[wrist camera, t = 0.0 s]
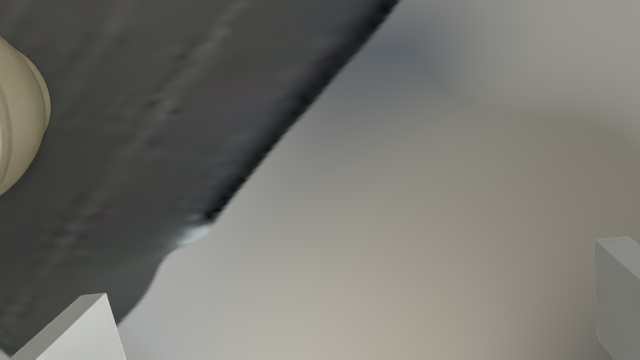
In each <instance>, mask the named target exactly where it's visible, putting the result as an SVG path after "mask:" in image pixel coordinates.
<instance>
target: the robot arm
mask: <svg viewBox="0 0 640 360" xmlns="http://www.w3.org/2000/svg"><path fill="white" fill-rule="evenodd" d="M595 269H596V270H595V273H596V320H597V338H599V340H600V341H601V343H602V344H603V345H604V347H605V348H606V349H607V351H608V352H609V353H610V355H611V356H612V357H613V358H614V360H640V245H639V244H638V243H636V242H635V241H634V240H632V239H631V238H630V237H629V236H624V237H615V238H605V239H596V240H595ZM9 360H126V357H125V353H124V350H123V347H122V344H121V340H120V337H119V334H118V331H117V327H116V324H115V321H114V318H113V315H112V311H111V308H110V305H109V302H108V299H107V295H106V293H99V294H90V295H81V296H80V297H79V298H78V299H77V300H75V301H74V302H73V303H72V304H71V305H70V306H69V307H68V308H66V309H65V310H64V311H63V312H62V313H61V314H60V315H58V316H57V317H56V318H55V319H54V320H53V321H52V322H51V323H49V324H48V325H47V326H46V327H45V328H44V329H43V330H42V331H40V332H39V333H38V334H37V335H36V336H35V337H34V338H32V339H31V340H30V341H29V342H28V343H27V344H26V345H25V346H23V347H22V348H21V349H20V350H19V351H18V352H17V353H16V354H14V355H13V356H12V357H11V358H10V359H9Z"/></svg>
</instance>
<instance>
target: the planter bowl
mask: <svg viewBox="0 0 640 360" xmlns="http://www.w3.org/2000/svg"><path fill="white" fill-rule="evenodd" d="M50 113H51V103H50V96H49V92H48V89H47V86H46V84H45V81H44V79H43V77H42V76H41V74H40V72H39V71H38V69H37V68H36V67H35V65H34V64H33V63H32V62H31V61H30V60H29V59H28V58H27V57H26V56H24V55H23V54H22V53H20V52H19V51H18V50H16V49H15V48H14V47H12V46H11V45H10V44H9V43H8V42H7V41H6V40H4V39H3V38H2V37H1V36H0V195H2V194H3V193H4V192H5V191H7V190H8V189H9V188H10V187H11V186H12V185H14V184H15V183H16V182H17V181H18V179H19V178H20V177H21V176H22V175H23V174H24V172H25V171H26V170H27V168H28V167H29V165H30V164H31V162H32V161H33V159H34V157H35V155H36V153H37V151H38V149H39V147H40V144H41V141H42V138H43V134H44V132H45V130H46V129H47V126H48V123H49V119H50Z"/></svg>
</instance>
